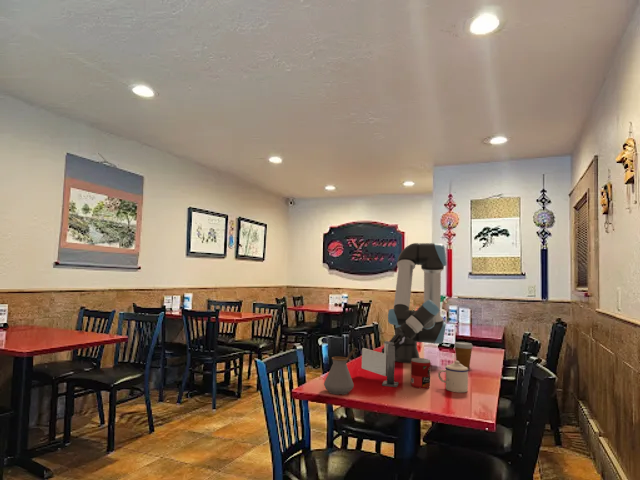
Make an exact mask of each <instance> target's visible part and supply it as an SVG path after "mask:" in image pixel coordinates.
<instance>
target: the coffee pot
mask: <svg viewBox="0 0 640 480" xmlns="http://www.w3.org/2000/svg"><path fill="white" fill-rule="evenodd" d="M356 350H357V351H359V349H358V348H356V347H354V348H353V349H352V350H351V351H350V352H349V354H348V355H347V357H345V356H332V357H331V360H332V365H331V366H330V369H329V371H328V373H327V376H326V378H325V381H324V383H323V386H324V388H325V390H327V391H328V393H329V394H332V395H339V394H342V395H347V394H349V393H350V392H351V391H352V390H353V388H354V385H355V384H354V382H353V379H352V376H351V372H350V371H349V368H348V365H347V362H348V361H349V359H350V358H351V357H352V356H353V355H354V353H356Z"/></svg>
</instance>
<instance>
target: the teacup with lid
mask: <svg viewBox="0 0 640 480" xmlns="http://www.w3.org/2000/svg"><path fill="white" fill-rule="evenodd" d="M459 363H460V362H459V361H456V360H454V362H453V363H451V364H448V365H446V366H445V369H441V370H439V371H438V375H437V376H438V379H439V381H441V383H445V390H446V391H449V392H454V393H459V394H462V393H467V392H468V389H469V385H468V384H469V381H468V380H469V375H468V374H469V367H465V366H463V365H462V364H459ZM441 373H445V380H444V379H443V378H442V377H441Z"/></svg>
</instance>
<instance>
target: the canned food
mask: <svg viewBox="0 0 640 480" xmlns="http://www.w3.org/2000/svg"><path fill="white" fill-rule="evenodd" d="M410 384H411V387H412V388H416V389H419V390H420V389H423V390H425V389H426V390H427V389H429V388H430V387H431V360H430V359H428V358H423V357H422V358H421V357H420V358H412V360H411V363H410Z"/></svg>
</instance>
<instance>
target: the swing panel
mask: <svg viewBox="0 0 640 480" xmlns="http://www.w3.org/2000/svg"><path fill="white" fill-rule="evenodd" d="M389 341H390V340H389ZM389 341H388V340H385V341H383V345H384V346H383V348H384V353H381V352H382V351H381V352H380V351H376V350H372V349H369V348H365V347H362V349H361V369H363V370H366V371H368V372H372V373H374V374H378V375H380V376H384V377H387V358H388V344H390V345H394V343H393V342H389Z"/></svg>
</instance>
